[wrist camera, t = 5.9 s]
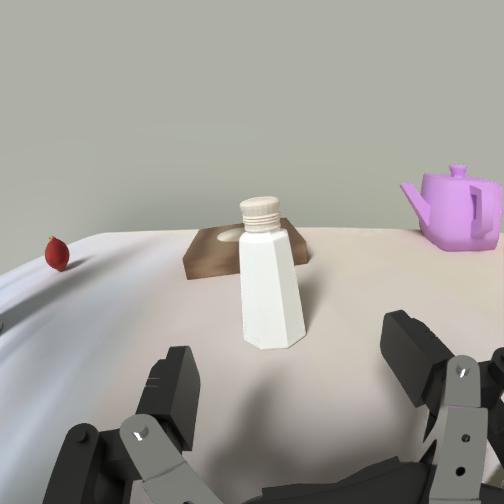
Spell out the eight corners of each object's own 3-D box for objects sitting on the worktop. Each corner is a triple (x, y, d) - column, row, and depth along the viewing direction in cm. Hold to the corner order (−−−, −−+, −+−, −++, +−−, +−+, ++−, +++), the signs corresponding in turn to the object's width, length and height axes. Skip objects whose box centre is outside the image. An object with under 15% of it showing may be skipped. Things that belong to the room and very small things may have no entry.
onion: (64, 266, 51) (54, 232, 49) (78, 265, 50) (68, 230, 47) (46, 276, 46) (36, 240, 43) (60, 276, 45) (48, 238, 42)
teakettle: (489, 265, 25) (495, 170, 21) (394, 240, 40) (392, 162, 36) (504, 236, 33) (506, 169, 29) (433, 221, 47) (432, 161, 43)
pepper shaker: (319, 337, 20) (312, 196, 17) (254, 359, 19) (230, 210, 16) (290, 308, 25) (279, 191, 22) (236, 324, 24) (214, 202, 21)
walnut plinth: (187, 279, 36) (182, 257, 35) (202, 245, 51) (199, 228, 50) (307, 263, 36) (305, 240, 35) (287, 233, 51) (285, 216, 50)
